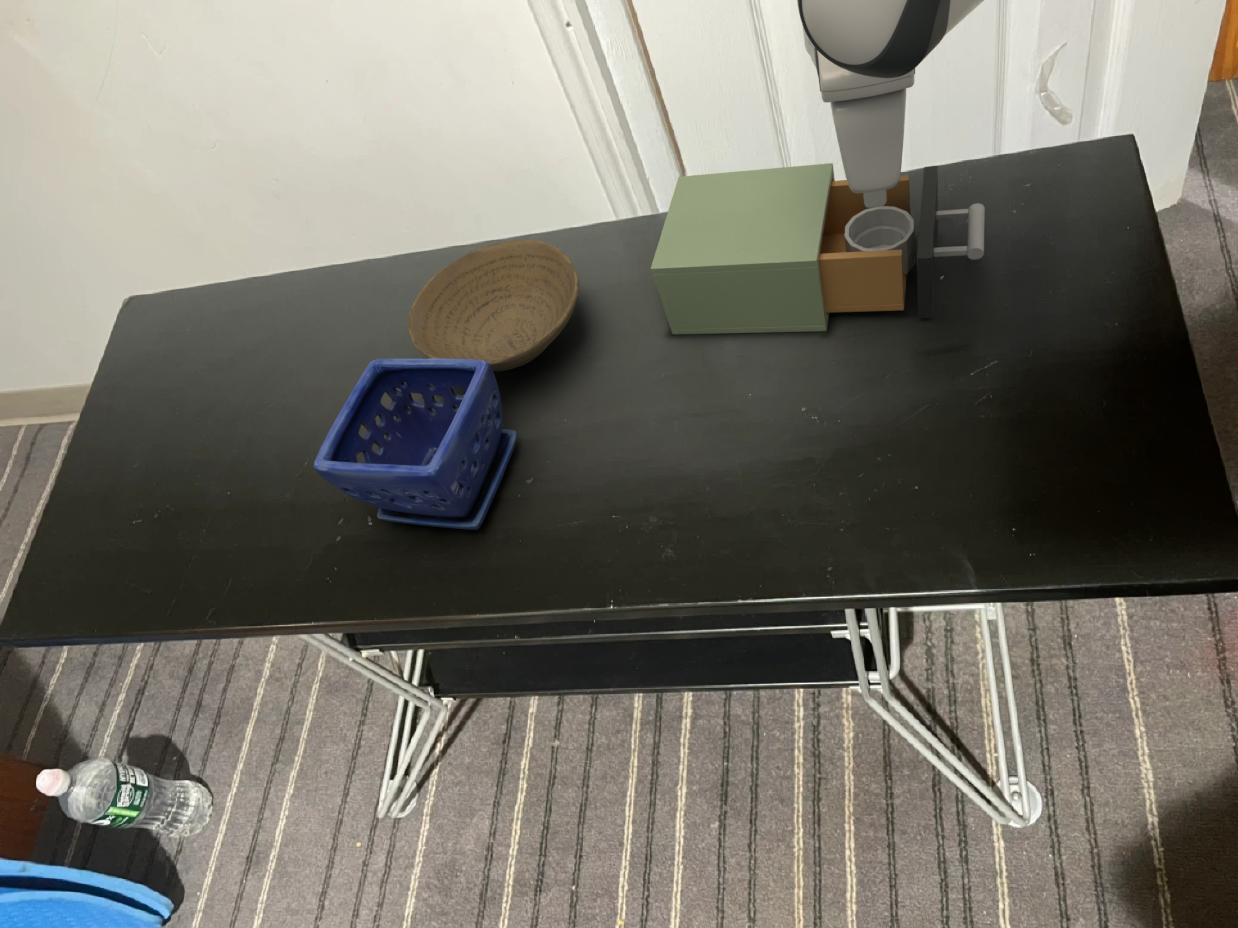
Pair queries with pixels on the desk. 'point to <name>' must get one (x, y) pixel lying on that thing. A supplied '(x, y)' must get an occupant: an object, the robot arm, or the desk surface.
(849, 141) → the robot arm
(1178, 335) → the desk surface
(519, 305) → the bowl
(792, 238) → the cabinet
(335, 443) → the flower pot
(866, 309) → the drawer
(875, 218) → the steel bowl
